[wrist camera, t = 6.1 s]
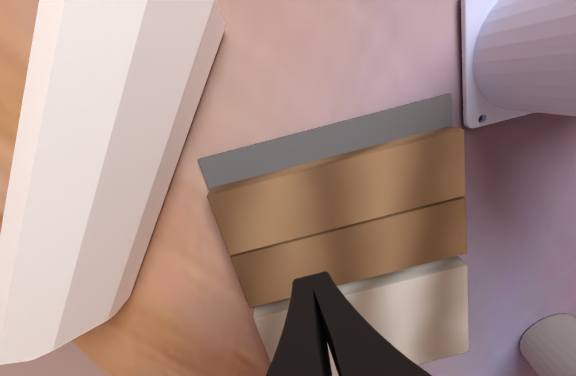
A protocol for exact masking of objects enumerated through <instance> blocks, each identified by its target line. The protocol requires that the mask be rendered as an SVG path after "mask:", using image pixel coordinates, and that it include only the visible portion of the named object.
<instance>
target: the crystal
mask: <svg viewBox="0 0 576 376" xmlns="http://www.w3.org/2000/svg"><path fill="white" fill-rule="evenodd" d="M225 27H226V26H225V22H224V19H223V16H222V12H221V9H220V6H219V3H218V0H39V5H38V11H37V17H36V23H35V29H34V35H33V41H32V47H31V53H30V59H29V66H28V72H27V78H26V84H25V90H24V96H23V102H22V108H21V114H20V120H19V126H18V132H17V138H16V144H15V150H14V156H13V162H12V168H11V174H10V180H9V186H8V192H7V198H6V204H5V210H4V216H3V222H2V228H1V234H0V365H2V364H9V363H16V362H23V361H31V360H34V359H36V358H38V357H40V356H42V355H44V354H47V353H49V352H51V351H53V350H55V349H57V348H59V347H60V346H62V345H64V344H66V343H68V342H69V341H71V340H73V339H75V338H77V337H79V336H80V335H82V334H84V333H86V332H88V331H89V330H91V329H93V328H95V327H97V326H98V325H100V324H102V323H104V322H106V321H107V320H109V319H110V318H111V317H113V316H114V315H115V314H116V313H117V312H118V310H119V309H120V308H121V307H122V306H123V304H124V303H125V302H126V301H127V299H128V298H129V297H130V295H131V292H132V289H133V286H134V284H135V281H136V278H137V275H138V272H139V269H140V267H141V264H142V261H143V258H144V255H145V253H146V250H147V247H148V244H149V241H150V239H151V236H152V233H153V230H154V227H155V224H156V222H157V219H158V216H159V213H160V210H161V208H162V205H163V202H164V199H165V196H166V193H167V191H168V188H169V185H170V182H171V179H172V177H173V174H174V171H175V168H176V165H177V162H178V160H179V157H180V154H181V151H182V148H183V146H184V143H185V140H186V137H187V134H188V132H189V129H190V126H191V123H192V120H193V117H194V115H195V112H196V109H197V106H198V103H199V101H200V98H201V95H202V92H203V89H204V86H205V84H206V81H207V78H208V75H209V72H210V70H211V67H212V64H213V61H214V58H215V56H216V53H217V50H218V47H219V44H220V41H221V39H222V36H223V33H224V30H225Z"/></svg>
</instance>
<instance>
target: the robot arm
mask: <svg viewBox="0 0 576 376" xmlns="http://www.w3.org/2000/svg"><path fill="white" fill-rule="evenodd" d="M461 29H462V76H463V122H464V125H465V127H467V128H471V129H472V128H478V127H481V126H485V125H489V124H493V123H497V122H501V121H505V120H508V119H512V118H516V117H520V116H524V115H528V114H532V113H535V112H537V113H547V114H557V115H567V116H576V0H461ZM481 115H482V119H481V121H478V119H479V117H480V116H481ZM327 343H328V344H327ZM328 346H329V349H330V352H331V355H332V358H333V361H334V364H335V367H336V370H337V372H338V375H339V376H431V375H430V374H429V373H427V372H426V371H425V370H423V369H422V368H421V367H419V366H418V365H417V364H415V363H414V362H412V361H411V360H410V359H409V358H407V357H406V356H405V355H404V354H403V353H401V352H400V351H399V350H398V349H396V348H395V347H394V346H393V345H392V344H391V343H389V342H388V341H387V340H386V339H385V338H384V337H383V336H382V335H381V334H379V333H378V332H377V331H376V330H375V329H374V328H373V327H372V326H371V325H370V324H369V323H368V322H367V321H366V320H365V319H364V318H363V317H362V316H361V315H360V313H359V312H358V311H357V310H356V309H355V308H354V307H353V306H352V304H351V303H350V302H349V301H348V300H347V299H346V297H345V296H344V295H343V294H342V292H341V291H340V290H339V288H338V287H337V286H336V284H335V283H334V281H333V280H332V278H331V276H330V274H329V273H328V272H326V271H324V272H321V273H317V274H313V275H309V276H305V277H301V278H297V279H294V281H293V282H292V292H291V298H290V303H289V308H288V312H287V316H286V320H285V324H284V327H283V331H282V334H281V337H280V340H279V343H278V346H277V349H276V352H275V354H274V357H273V360H272V362H271V365H270V367H269V369H268V372H267V374H266V376H332V371H331V364H330V357H329V350H328Z"/></svg>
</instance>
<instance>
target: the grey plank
mask: <svg viewBox="0 0 576 376" xmlns="http://www.w3.org/2000/svg"><path fill="white" fill-rule="evenodd" d="M337 287H338V288H339V290H340V291H341V292H342V294H343V295H344V296H345V297H346V299H347V300H348V301H349V302H350V303H351V304H352V306H353V307H354V308H355V309H356V310H357V311H358V312H359V313H360V315H361V316H362V317H363V318H364V319H365V320H366V321H367V322H368V323H369V324H370V325H371V326H372V327H373V328H374V329H375V330H376V331H377V332H378V333H379V334H381V335H382V336H383V337H384V338H385V339H386V340H387V341H388V342H389V343H391V344H392V345H393V346H394V347H395V348H396V349H398V350H399V351H400V352H401V353H403V354H404V355H405V356H406V357H407V358H409V359H410V360H411V361H412V362H414V363H415V364H421V363H425V362H429V361H433V360H437V359H441V358H445V357H449V356H453V355H457V354H462V353H466V352H469V336H468V271H467V264H466V263H465V262H463V261H462V260H461V259H460V258H459V257H458V256H454V257H450V258H446V259H442V260H438V261H434V262H430V263H426V264H422V265H418V266H414V267H410V268H406V269H402V270H398V271H394V272H390V273H386V274H382V275H378V276H374V277H370V278H366V279H362V280H358V281H354V282H350V283H346V284H342V285H338V286H337ZM289 303H290V298H287V299H283V300H279V301H275V302H271V303H267V304H263V305H259V306H255V307H254V321H255V324H256V326H257V329H258V332H259V334H260V337H261V339H262V342H263V345H264V347H265V350H266V352H267V355H268V358H269V360H270V363H271V362H272V360H273V357H274V354H275V352H276V349H277V346H278V343H279V340H280V337H281V334H282V331H283V327H284V324H285V320H286V316H287V312H288V308H289ZM327 344H328V343H327ZM328 350H329V357H330V364H331V371H332V376H339V375H338V372H337V370H336V367H335V364H334V361H333V358H332V355H331V352H330V349H329V346H328Z"/></svg>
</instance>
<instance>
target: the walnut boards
mask: <svg viewBox="0 0 576 376" xmlns="http://www.w3.org/2000/svg"><path fill="white" fill-rule="evenodd" d="M463 196H465V146H464V129H460V128H455V127H451V126H447V127H444V128H440V129H436V130H432V131H428V132H424V133H420V134H417V135H413V136H409V137H405V138H401V139H397V140H394V141H390V142H386V143H382V144H378V145H374V146H370V147H367V148H363V149H359V150H355V151H351V152H347V153H343V154H340V155H336V156H332V157H328V158H324V159H320V160H317V161H313V162H309V163H305V164H301V165H297V166H293V167H290V168H286V169H282V170H278V171H274V172H270V173H266V174H263V175H259V176H255V177H251V178H247V179H243V180H240V181H236V182H232V183H228V184H224V185H220V186H216V187H213V188H211V190H210V192H209V193H208V195H207V197H208V200H209V203H210V205H211V208H212V211H213V213H214V216H215V218H216V221H217V224H218V226H219V229H220V231H221V234H222V237H223V239H224V242H225V245H226V247H227V250H228V252H229V255H231V260H232V263H233V266H234V268H235V271H236V273H237V276H238V279H239V281H240V284H241V287H242V289H243V292H244V294H245V297H246V300H247V302H248V305H249V307H250V308H251V307H255V306H259V305H263V304H267V303H271V302H275V301H279V300H283V299H287V298H291V292H292V282H293V281H294V279H297V278H301V277H305V276H309V275H313V274H317V273H321V272H324V271H326V272H328V273H329V274H330V276H331V278H332V280H333V281H334V283H335V284H336V286H338V285H342V284H346V283H350V282H354V281H358V280H362V279H366V278H370V277H374V276H378V275H382V274H386V273H390V272H394V271H398V270H402V269H406V268H410V267H414V266H418V265H422V264H426V263H430V262H434V261H438V260H442V259H446V258H450V257H454V256H458V255H462V254H466V253H467V243H466V198H465V197H463Z"/></svg>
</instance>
